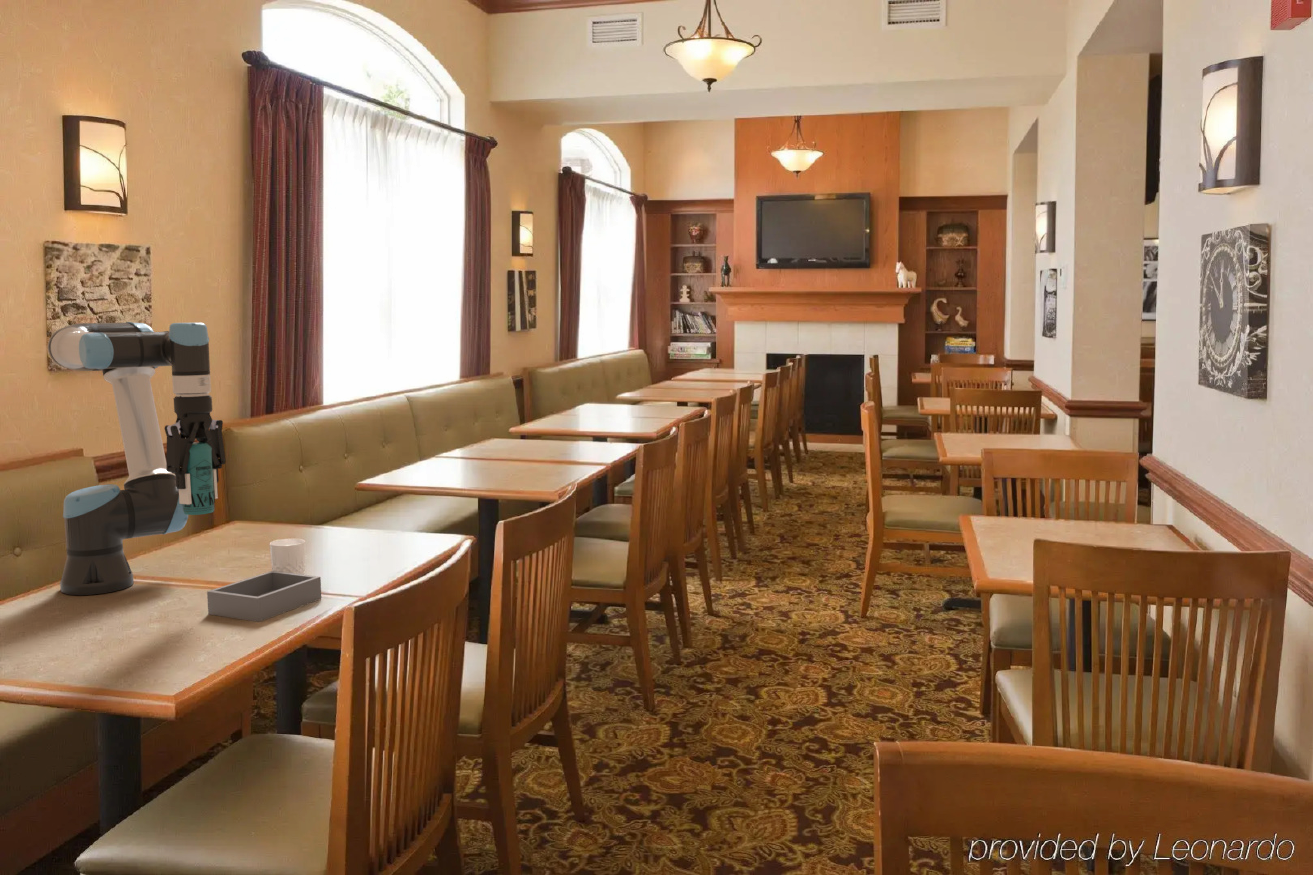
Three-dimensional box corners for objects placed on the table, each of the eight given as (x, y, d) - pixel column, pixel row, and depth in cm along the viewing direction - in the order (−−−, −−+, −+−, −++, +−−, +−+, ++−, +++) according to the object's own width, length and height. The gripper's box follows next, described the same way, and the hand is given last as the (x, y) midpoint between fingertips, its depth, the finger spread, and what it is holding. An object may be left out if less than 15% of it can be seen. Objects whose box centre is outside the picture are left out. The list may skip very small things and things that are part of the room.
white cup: (312, 579, 255) (310, 538, 253) (298, 588, 247) (296, 546, 246) (280, 578, 255) (278, 538, 254) (265, 587, 248) (263, 545, 246)
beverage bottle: (176, 520, 229) (170, 428, 226) (199, 515, 235) (194, 425, 233) (200, 522, 226) (194, 429, 224) (223, 517, 233) (217, 426, 230)
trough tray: (208, 614, 226) (207, 591, 226) (272, 592, 244) (271, 570, 243) (259, 621, 221) (257, 598, 220) (321, 598, 238) (320, 576, 237)
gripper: (167, 398, 217) (174, 509, 220) (240, 392, 235) (246, 495, 237) (141, 397, 220) (148, 507, 223) (215, 391, 238) (220, 492, 240)
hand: (198, 500), depth 230 cm, fingers closed on beverage bottle, 6 cm apart
